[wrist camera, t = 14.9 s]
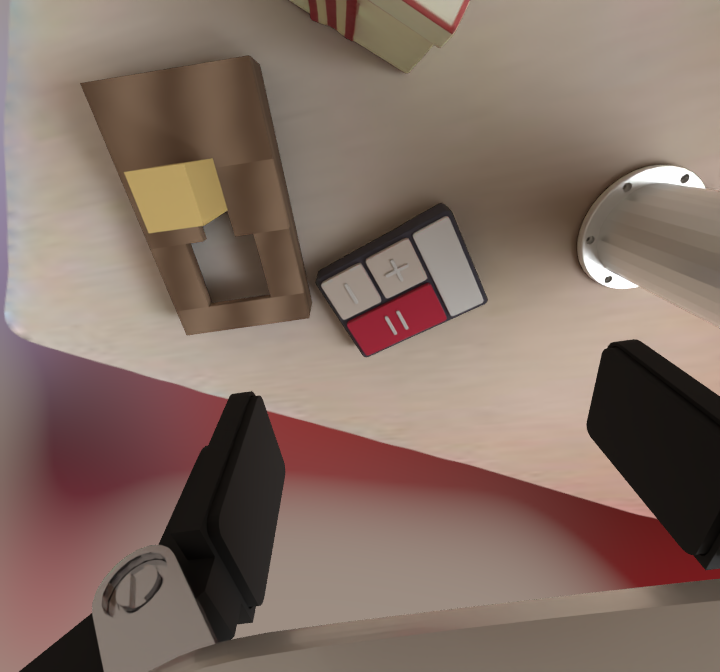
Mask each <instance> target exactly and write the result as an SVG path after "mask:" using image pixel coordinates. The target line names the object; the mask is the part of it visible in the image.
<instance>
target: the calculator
mask: <svg viewBox="0 0 720 672" xmlns="http://www.w3.org/2000/svg"><path fill="white" fill-rule="evenodd" d="M316 285H317V286H318V288H319V289H320V291H321V292H322V294H323V295H324V297H325V298H326V300H327V301H328V303H329V305H330V306H331V308H332V309H333V311H334V312H335V314H336V315H337V317H338V318H339V320H340V321H341V323H342V324H343V326H344V327H345V329H346V331H347V332H348V334H349V335H350V337H351V338H352V340H353V341H354V343H355V344H356V346H357V347H358V349H359V350H360V352H361V353H362V355H363V356H364V357H369V356H371V355H373V354H376V353H378V352H380V351H382V350H384V349H387V348H389V347H391V346H393V345H395V344H398V343H400V342H402V341H404V340H406V339H409V338H411V337H413V336H415V335H417V334H420V333H422V332H424V331H426V330H428V329H431V328H433V327H435V326H437V325H439V324H442V323H444V322H446V321H448V320H450V319H453V318H455V317H457V316H459V315H461V314H464V313H466V312H468V311H470V310H472V309H475V308H477V307H479V306H481V305H483V304H485V303H486V302H487V301H488V299H487V296H486V294H485V291H484V289H483V286H482V284H481V281H480V279H479V277H478V274H477V272H476V269H475V267H474V264H473V262H472V260H471V257H470V255H469V252H468V250H467V247H466V245H465V243H464V240H463V238H462V235H461V233H460V230H459V228H458V225H457V223H456V221H455V218H454V216H453V213H452V211H451V210H450V209H449V208H448V207H447V206H446V205H445V204H443V203H440V204H438V205H436V206H434V207H432V208H431V209H429V210H427V211H425V212H423V213H422V214H420V215H418V216H416V217H414V218H413V219H411V220H409V221H407V222H406V223H404V224H403V225H402V226H400V227H398V228H396V229H394V230H392V231H391V232H389V233H387V234H385V235H383V236H381V237H379V238H378V239H376V240H374V241H372V242H370V243H368V244H367V245H365V246H363V247H361V248H359V249H357V250H356V251H354V252H352V253H350V254H348V255H347V256H345V257H343V258H341V259H339V260H338V261H336V262H334V263H332V264H330V265H329V266H327V267H325V268H323V269H321V270H320V271H319V272H318V275H317V279H316Z"/></svg>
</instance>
